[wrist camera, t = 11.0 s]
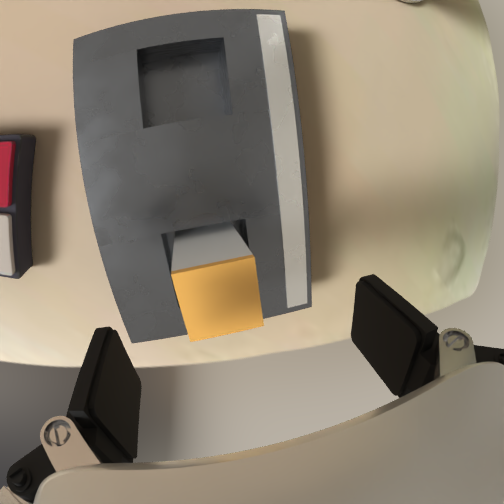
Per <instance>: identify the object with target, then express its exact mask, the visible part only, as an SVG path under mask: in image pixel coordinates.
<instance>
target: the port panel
mask: <svg viewBox="0 0 504 504" xmlns="http://www.w3.org/2000/svg"><path fill="white" fill-rule="evenodd" d="M73 90H74V108H75V121H76V131H77V140H78V148H79V155H80V162H81V168H82V174H83V180H84V186H85V191H86V196H87V201H88V206H89V210H90V215H91V219H92V223H93V227H94V231H95V235H96V239H97V243H98V246H99V250H100V254H101V257H102V261H103V264H104V267H105V271H106V274H107V277H108V280H109V283H110V286H111V289H112V292H113V295H114V298H115V301H116V304H117V306H118V309H119V312H120V314H121V317H122V320H123V322H124V325H125V327H126V330H127V332H128V335H129V337H130V340H131V342H132V343H138V342H145V341H151V340H158V339H164V338H170V337H176V336H181V335H187V334H188V332H187V329H186V326H185V322H184V319H183V316H182V312H181V309H180V306H179V302H178V299H177V295H176V291H175V288H174V284H173V280H172V277H171V268H172V257H173V246H174V237H175V231H179V230H184V229H190V228H195V227H200V226H206V225H211V224H217V223H223V222H228V221H230V222H231V223H232V225H233V226H234V228H235V229H236V231H237V232H238V233H239V235H240V236H241V238H242V239H243V241H244V242H245V244H246V245H247V247H248V248H249V250H250V251H251V253H252V254H253V256H254V257H255V264H256V271H257V279H258V286H259V293H260V301H261V308H262V316H263V319H264V318H269V317H273V316H277V315H281V314H285V313H289V312H293V311H297V310H301V309H305V308H309V307H312V294H311V255H310V232H309V213H308V197H307V183H306V170H305V159H304V148H303V138H302V128H301V119H300V110H299V102H298V94H297V86H296V79H295V72H294V65H293V58H292V52H291V45H290V39H289V33H288V28H287V22H286V17H285V11H281V10H262V9H229V10H209V11H197V12H188V13H179V14H172V15H166V16H160V17H154V18H149V19H144V20H139V21H134V22H130V23H126V24H122V25H118V26H114V27H111V28H107V29H104V30H100V31H97V32H94V33H91V34H88V35H85V36H82V37H79V38H76V39H74V43H73Z"/></svg>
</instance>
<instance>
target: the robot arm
mask: <svg viewBox="0 0 504 504" xmlns="http://www.w3.org/2000/svg"><path fill="white" fill-rule="evenodd" d="M400 1H404V2H408V3H416V2H420V1H422V0H400ZM437 329H438V327H437V326H436V325H435V324H433V323H432V322H431V321H430V320H429V319H428V318H427V317H425V316H424V315H423V314H422V313H421V312H420V311H418V310H417V309H416V308H415V307H414V306H413V305H411V304H410V303H409V302H408V301H407V300H405V299H404V298H403V297H402V296H401V295H399V294H398V293H397V292H396V291H394V290H393V289H392V288H391V287H390V286H388V285H387V284H386V283H385V282H383V281H382V280H381V279H380V278H378V277H377V276H376V275H374V274H372V275H368V276H364V277H361V278H360V280H359V282H357V284H356V292H355V303H354V313H353V322H352V330H351V338H352V341H353V343H354V344H355V345H356V346H357V348H358V349H359V350H360V351H361V353H362V354H363V355H364V357H365V358H366V359H367V361H368V362H369V363H370V364H371V366H372V367H373V368H374V370H375V371H376V372H377V374H378V375H379V376H380V378H381V379H382V380H383V382H384V383H385V384H386V386H387V387H388V388H389V389H390V391H391V392H392V393H393V394H394V395H398V397H399V399H397V400H395V401H392V402H390V403H388V404H386V405H384V406H382V407H379V408H377V409H375V410H373V411H370V412H368V413H366V414H363V415H361V416H358V417H356V418H353V419H351V420H348V421H346V422H343V423H340V424H338V425H335V426H332V427H329V428H326V429H324V430H320V431H317V432H314V433H311V434H308V435H305V436H301V437H298V438H295V439H291V440H288V441H284V442H280V443H276V444H272V445H268V446H264V447H260V448H255V449H250V450H245V451H241V452H235V453H230V454H224V455H218V456H211V457H204V458H196V459H187V460H175V461H162V462H146V463H133V458H136V457H137V443H138V424H139V409H140V398H141V381H140V378H139V376H138V375H137V373H136V371H135V369H134V367H133V365H132V363H131V360H130V358H129V356H128V354H127V352H126V350H125V348H124V346H123V343H122V341H121V339H120V337H119V334H118V332H117V331H116V330H113V329H112V328H111V327H103V328H97V329H96V330H95V332H94V334H93V337H92V339H91V342H90V345H89V348H88V350H87V353H86V356H85V359H84V362H83V364H82V367H81V370H80V372H79V375H78V378H77V382H76V385H75V388H74V391H73V394H72V398H71V401H70V405H69V408H68V412H67V416H66V417H65V416H56V417H53V418H51V419H50V420H48V421H47V422H46V423H45V424H44V426H43V427H42V430H41V434H40V438H41V442H42V444H41V445H40V446H38V447H37V448H36V449H34V450H33V451H31V452H30V453H29V454H27V455H26V456H24V457H23V458H22V459H20V460H19V461H17V462H16V463H15V464H13V465H12V466H11V467H10V469H9V471H8V474H7V483H8V487H7V488H6V487H5V486H3V487H2V489H1V490H0V504H504V349H499V348H491V347H484V346H477V345H474V344H473V341H472V338H471V337H470V335H469V334H467V333H466V332H465V331H463V330H461V329H457V328H448V329H445V330H444V331H442V332H441V334H439V333H437Z"/></svg>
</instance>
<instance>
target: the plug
mask: <svg viewBox="0 0 504 504" xmlns="http://www.w3.org/2000/svg"><path fill="white" fill-rule="evenodd" d="M171 277H172V280H173V284H174V288H175V291H176V295H177V299H178V302H179V306H180V309H181V312H182V316H183V319H184V322H185V326H186V329H187V332H188V335H189V338H190V342H193V341H198V340H203V339H208V338H212V337H217V336H222V335H226V334H231V333H235V332H240V331H244V330H248V329H252V328H256V327H261V326H264V323H263V316H262V308H261V301H260V293H259V286H258V279H257V271H256V264H255V257H254V256H253V254H252V253H251V251H250V250H249V248H248V247H247V245H246V244H245V242H244V241H243V239H242V238H241V236H240V235H239V233H238V232H237V231H236V229H235V228H234V226H233V225H232V223H231V222H230V221H228V222H223V223H217V224H211V225H206V226H200V227H195V228H190V229H184V230H179V231H175V237H174V246H173V257H172V268H171Z"/></svg>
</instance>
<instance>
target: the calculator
mask: <svg viewBox="0 0 504 504" xmlns="http://www.w3.org/2000/svg"><path fill="white" fill-rule="evenodd" d="M35 143H36V138H35V136H34V135H24V134H12V135H0V276H3V277H9V278H15V279H19V278H20V277H22V275H23V274H24V273H25V272H26V271H27V270H28V269H29V268H30V267H31V266H32V264H33V261H32V247H31V185H32V171H33V160H34V151H35Z"/></svg>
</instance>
